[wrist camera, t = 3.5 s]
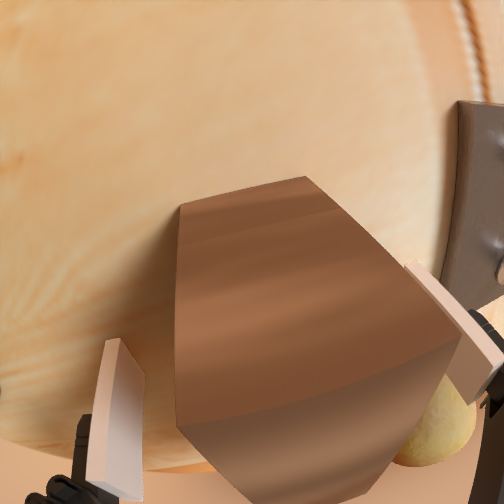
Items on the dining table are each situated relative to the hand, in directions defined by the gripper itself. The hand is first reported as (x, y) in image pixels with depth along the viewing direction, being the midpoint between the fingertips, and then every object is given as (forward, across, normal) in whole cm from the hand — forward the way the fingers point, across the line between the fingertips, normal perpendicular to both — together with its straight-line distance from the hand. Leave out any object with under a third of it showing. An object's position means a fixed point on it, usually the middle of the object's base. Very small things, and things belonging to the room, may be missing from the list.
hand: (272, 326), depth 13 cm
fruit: (+1, +8, -9) cm, 12 cm away
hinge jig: (+1, +16, +2) cm, 16 cm away
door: (+1, 0, 0) cm, 1 cm away
